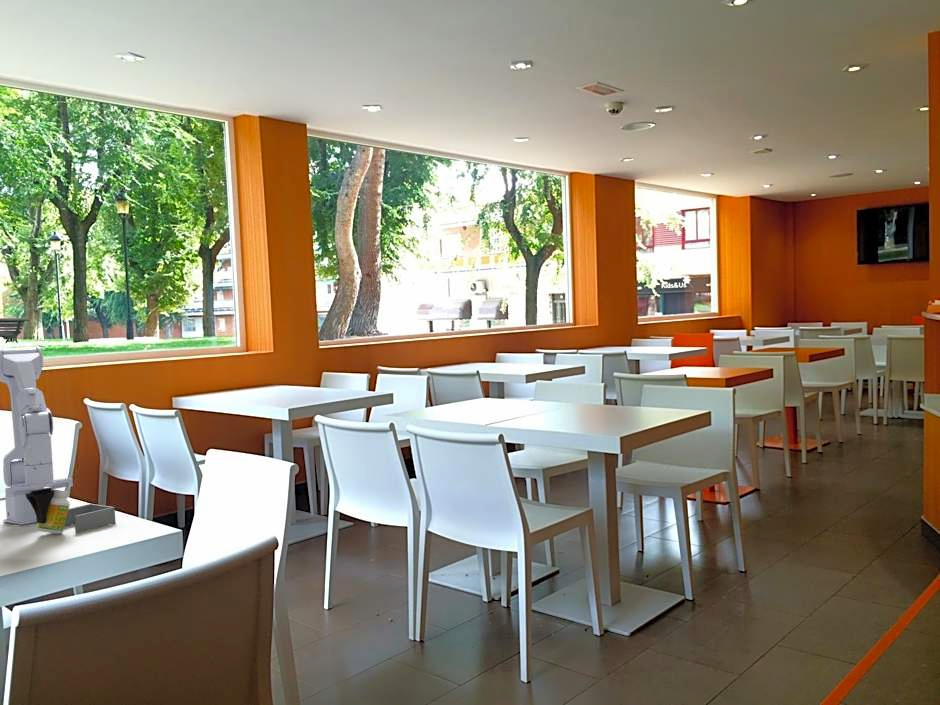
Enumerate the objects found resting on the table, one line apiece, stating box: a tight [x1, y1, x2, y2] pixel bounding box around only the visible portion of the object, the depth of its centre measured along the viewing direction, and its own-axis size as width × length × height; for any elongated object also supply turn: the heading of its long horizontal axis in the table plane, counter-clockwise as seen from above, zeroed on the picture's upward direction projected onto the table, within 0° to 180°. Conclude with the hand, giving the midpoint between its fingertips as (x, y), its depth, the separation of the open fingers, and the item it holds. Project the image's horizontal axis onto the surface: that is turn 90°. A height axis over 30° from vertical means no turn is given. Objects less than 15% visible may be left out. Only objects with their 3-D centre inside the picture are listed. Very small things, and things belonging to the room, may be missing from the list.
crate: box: [64, 503, 116, 534], centre depth 194 cm, size 10×10×4 cm
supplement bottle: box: [37, 489, 71, 534], centre depth 188 cm, size 5×5×10 cm
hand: (42, 522), depth 185 cm, fingers closed, pressing on supplement bottle
